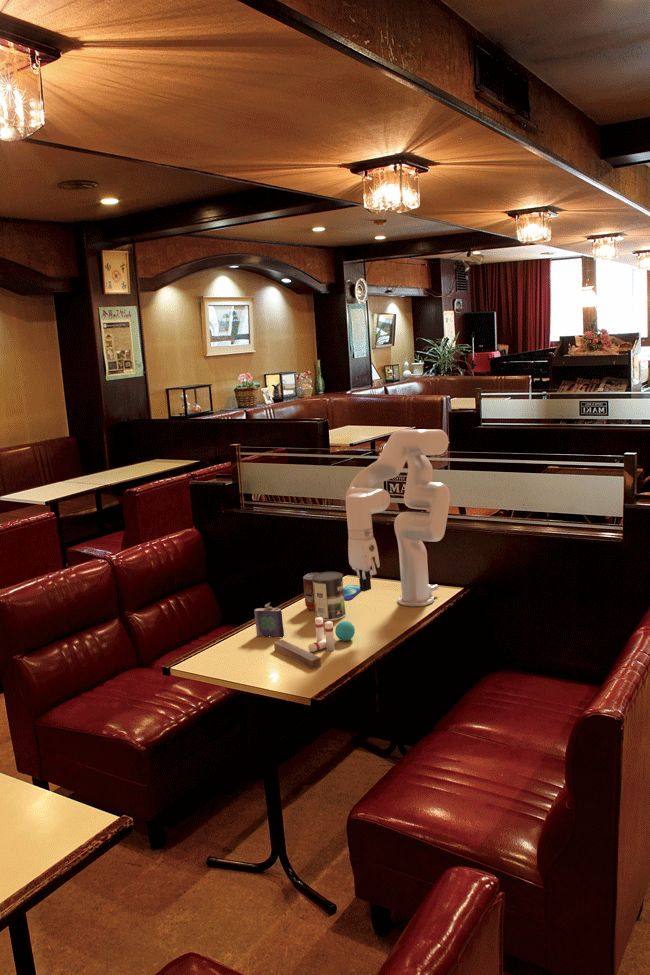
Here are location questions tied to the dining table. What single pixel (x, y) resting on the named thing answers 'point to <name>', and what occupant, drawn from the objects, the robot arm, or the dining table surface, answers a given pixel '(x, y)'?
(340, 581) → the coffee can
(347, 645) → the dining table surface
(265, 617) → the flask
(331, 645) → the back pin left
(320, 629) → the back pin right
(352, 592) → the smartphone
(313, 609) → the soda can
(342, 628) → the ball
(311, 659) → the back wall
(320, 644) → the front pin
